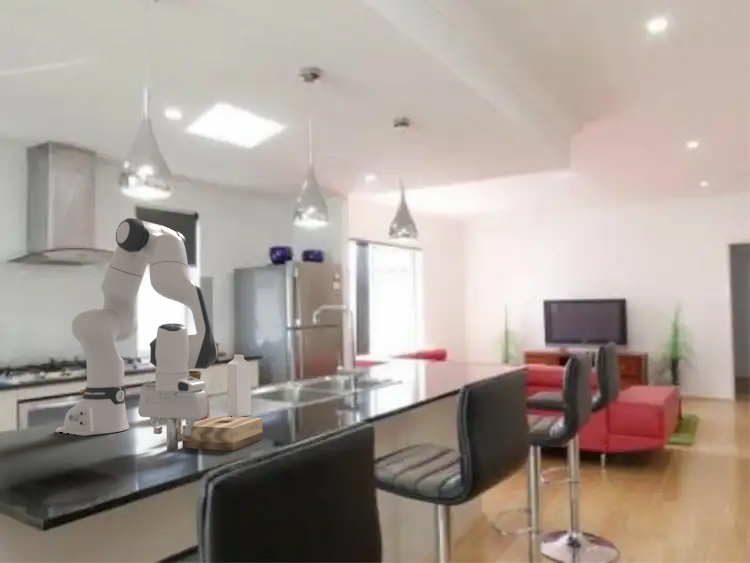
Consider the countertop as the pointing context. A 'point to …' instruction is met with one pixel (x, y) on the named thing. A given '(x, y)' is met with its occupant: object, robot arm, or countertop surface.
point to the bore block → (223, 433)
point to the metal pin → (172, 434)
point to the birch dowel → (179, 429)
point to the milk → (239, 387)
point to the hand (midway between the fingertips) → (172, 434)
